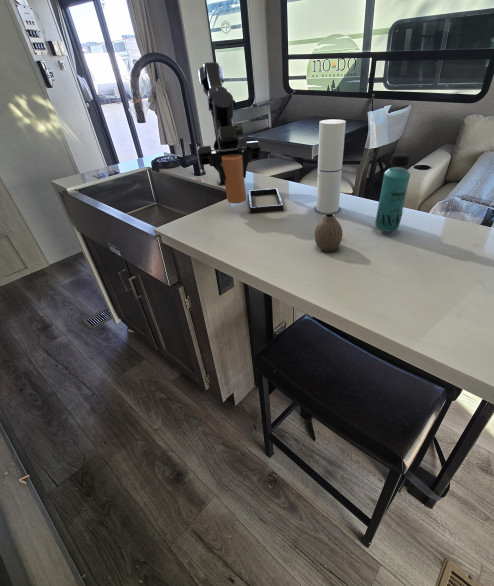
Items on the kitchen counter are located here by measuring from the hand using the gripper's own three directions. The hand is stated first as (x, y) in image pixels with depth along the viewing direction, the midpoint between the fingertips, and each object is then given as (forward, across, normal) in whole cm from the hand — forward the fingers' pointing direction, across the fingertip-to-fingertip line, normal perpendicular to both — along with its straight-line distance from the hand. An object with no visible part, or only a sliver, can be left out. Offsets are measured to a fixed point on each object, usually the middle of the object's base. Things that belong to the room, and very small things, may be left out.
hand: (234, 178), depth 94 cm
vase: (+29, +19, -14) cm, 37 cm away
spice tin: (+4, 0, +6) cm, 7 cm away
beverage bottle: (+27, +37, -11) cm, 47 cm away
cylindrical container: (+12, +28, +3) cm, 31 cm away
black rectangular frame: (+4, +10, +12) cm, 16 cm away
